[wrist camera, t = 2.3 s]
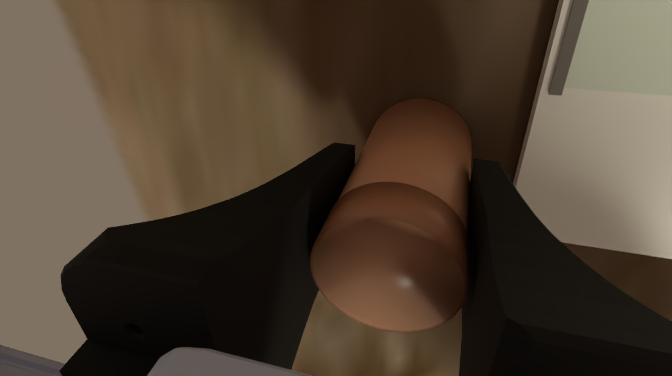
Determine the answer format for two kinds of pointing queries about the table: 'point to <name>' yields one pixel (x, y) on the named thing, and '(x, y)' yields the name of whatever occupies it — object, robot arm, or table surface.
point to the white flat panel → (604, 128)
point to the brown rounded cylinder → (401, 223)
